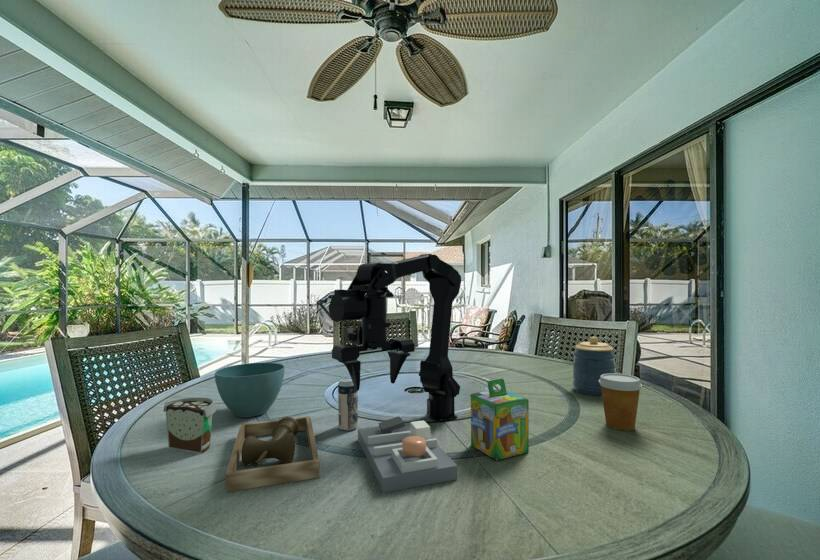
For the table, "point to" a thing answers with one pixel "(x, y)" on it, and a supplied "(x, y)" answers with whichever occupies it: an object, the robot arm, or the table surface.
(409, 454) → the push button
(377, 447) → the panel
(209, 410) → the food container
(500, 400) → the chalk box
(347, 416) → the beer can
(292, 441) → the kendama
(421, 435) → the slider knob
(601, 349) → the canister
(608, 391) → the disposable coffee cup
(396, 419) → the rocker switch
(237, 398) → the teal bowl
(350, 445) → the table surface
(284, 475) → the tray
